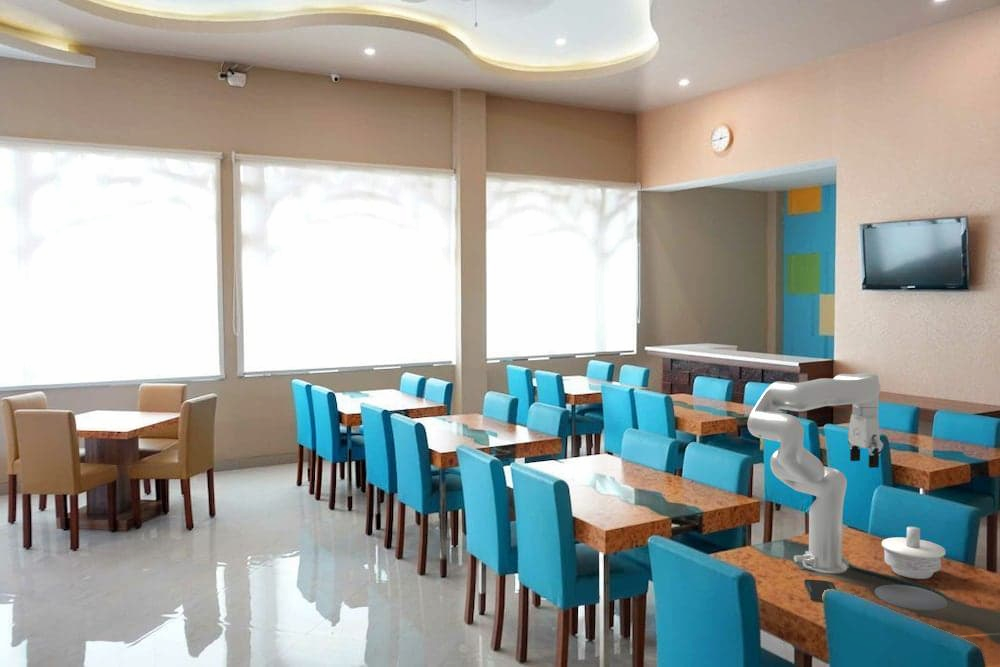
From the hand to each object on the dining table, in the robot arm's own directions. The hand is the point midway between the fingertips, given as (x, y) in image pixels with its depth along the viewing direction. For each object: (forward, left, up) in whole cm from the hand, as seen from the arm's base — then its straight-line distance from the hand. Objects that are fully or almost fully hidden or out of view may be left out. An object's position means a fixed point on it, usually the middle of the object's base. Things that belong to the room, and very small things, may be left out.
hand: (864, 464), depth 245 cm
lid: (+5, -17, -22) cm, 29 cm away
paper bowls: (+5, -17, -31) cm, 35 cm away
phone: (-30, -26, -31) cm, 50 cm away
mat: (-8, -34, -30) cm, 46 cm away
